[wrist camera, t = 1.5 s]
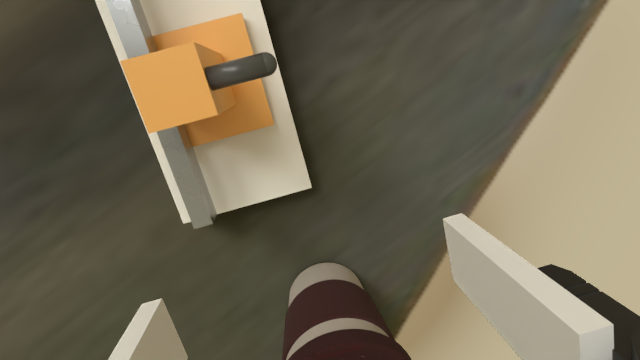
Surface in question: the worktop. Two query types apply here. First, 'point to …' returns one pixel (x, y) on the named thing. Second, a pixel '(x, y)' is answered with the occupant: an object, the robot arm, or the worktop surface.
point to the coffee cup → (335, 319)
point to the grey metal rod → (173, 140)
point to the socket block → (243, 149)
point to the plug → (203, 81)
